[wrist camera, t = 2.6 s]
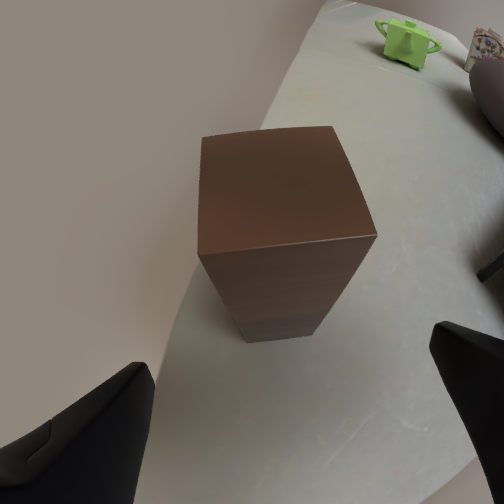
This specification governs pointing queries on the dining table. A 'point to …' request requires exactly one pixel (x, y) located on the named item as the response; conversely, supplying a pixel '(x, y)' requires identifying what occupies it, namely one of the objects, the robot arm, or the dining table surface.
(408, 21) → the teapot
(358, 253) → the walnut block
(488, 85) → the smooth stone
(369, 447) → the dining table surface
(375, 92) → the dining table surface
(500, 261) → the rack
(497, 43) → the decorative jar
